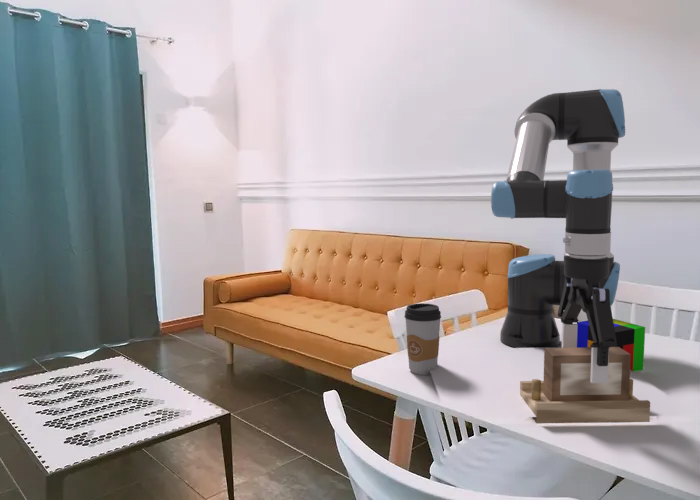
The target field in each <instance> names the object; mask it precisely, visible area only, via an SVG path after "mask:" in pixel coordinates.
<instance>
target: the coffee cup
mask: <svg viewBox="0 0 700 500" xmlns="http://www.w3.org/2000/svg"><path fill="white" fill-rule="evenodd" d="M441 313H442V312H441V310H440V307H439V306H438V305H436V304H432V303H425V302H422V303H411V304H409V305H407V306H406V310H404V318H405V327H406V329H405V330H406V331H405V332H406V347H407V358H408V369H409V370H410V372H411V373H412V374H415V375H420V376H427V375H432V373H431V370H434V369H436V368H438V362H439V359H438V358H439V349H440V327H441V318H442V315H441Z"/></svg>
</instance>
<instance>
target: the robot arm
mask: <svg viewBox="0 0 700 500" xmlns="http://www.w3.org/2000/svg"><path fill="white" fill-rule="evenodd" d="M625 135H626V118H625V109H624V101H623V96H622V94H621V92H620V91H619V90H617V89H614V88H612V89H610V88H606V89H605V88H604V89H601V88H598V89H590V90H580V91H570V92H567V91H566V92H557V93H556V92H555V93H551V94H547V95H545V96H542V97H540V98H539V99H537V100H535V101H534V102H532V103H531V104H529V105H528V106H527V107H526V108H525V109H524V111H523V112H521V114H520V115H519V116H518V119H517V120H516V124H515V127H514V137H515V139H516V140H515V143H514V146H513V147H514V148H513V152H512V156H511V160H510V163H509V168H508V171H507V176H506V180H502V181H496V182H494V183H493V185H492V188H491V196H490V205H491V213H492V215H494V216H495V217H497V218H507V219H511V220H512V219H565V232H564V233H565V234H564V236H565V237H564V238H562V242H563V244H564V253H563V260H556V257H555V255H554V254H552V253H550V254H548V253H547V254H545V253H544V254H543V253H542V254H530V255H522V256H518V257H514V258H512V259H511V260H510V261H509V263H508V270H507V312H506V315H505V319H504V321H503V324H502V326H501V330H500V334H499V335H500V337H499V338H500V339H499V340H500V342H501V343H502V344H504V345H507V346H509V347H513V348H516V349H517V348H518V349H526V348H527V349H529V348H530V349H533V348H535V349H537V348H539V349H540V348H541V349H544V348H558V346H560V342H561V348H577V326H578V325H577V323H579V322H580V321H579V319H578V317H579V315H580V313H581V311H582V312H584V313H585V314H586V318H587V321H588V322H589V326H590V330H591V334H592V337H593V341H594V343H592V344H591V345H590V346H591V376H590V382H591V383H608V368H609V348H610V347H616V346H617V340H616V334H615V329H614V323H613V319H614V318H613V312H612V306H613V304H614V302H615V298H616V295H617V290H618V285H619V279H620V278H619V277H620V270H621V264H620V263H619V262H616V261H615V255H614V254H613V253H612V252H611V243H612V232H611V229H612V228H611V222H612V207H613V191H614V184H613V173H612V171H611V163H612V162H611V161H612V151H613V150H615V149H616V148H617V147H618V145H619V139H620V138H624V137H625ZM552 141H567V142H566V144H567V145H566V146H567V148H568V150H570V151H571V152H572V154H573V157H572V158H573V159H572V170H570V171H569V172H568V173H567V175H566V179H563V180H562V179H561V180H559V179H558V180H556V179H555V180H544V178H545V173H546V167H547V166H546V165H547V160H548V155H549V154H548V153H549V147H550V144H551V142H552ZM554 306H558V310H557V317H558V318H560V322H561V323H562V325H561V334H560V332H559V329H558V325H557V323H556V319H555V317H554ZM560 335H561V337H560ZM560 338H561V340H560Z"/></svg>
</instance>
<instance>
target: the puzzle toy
mask: <svg viewBox="0 0 700 500" xmlns="http://www.w3.org/2000/svg"><path fill="white" fill-rule="evenodd" d="M578 322H579V323H576V324H577V325H578V326H577V348H583V347H591V346H590V345H591V344H592V343H594V341H593V337H592V334H591V330H590V326H589V322H588V320H584V321H578ZM613 323H614V329H615V334H616V340H617V346H616V347H620V348H621V349H623V350H624V351H626V352H628V353H629V354H631V359H630V371H631V372H632V373H635V372H639V371H643V370H644V362H645V361H644V360H645V359H644V358H645V342H646V341H645V339H646V327H645V326H643V325H638V324H635V323H631V322H628V321H624V320H619V319H616V318H613Z"/></svg>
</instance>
